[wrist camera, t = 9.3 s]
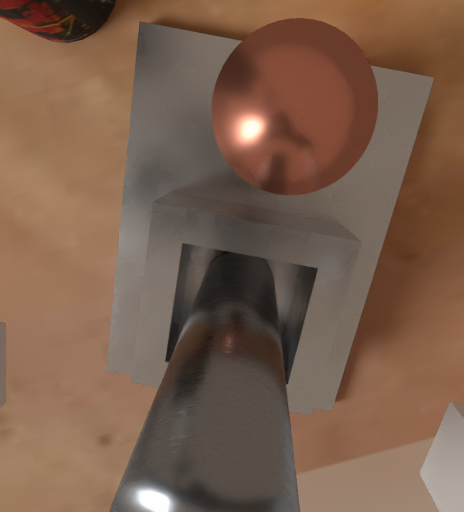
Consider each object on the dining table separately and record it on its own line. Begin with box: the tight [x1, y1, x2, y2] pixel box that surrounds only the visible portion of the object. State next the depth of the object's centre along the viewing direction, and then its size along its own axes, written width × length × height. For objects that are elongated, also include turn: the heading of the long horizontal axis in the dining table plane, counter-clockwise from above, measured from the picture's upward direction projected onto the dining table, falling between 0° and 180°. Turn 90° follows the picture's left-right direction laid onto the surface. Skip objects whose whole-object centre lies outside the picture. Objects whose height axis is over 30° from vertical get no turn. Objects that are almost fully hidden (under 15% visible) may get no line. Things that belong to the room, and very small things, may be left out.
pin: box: [110, 252, 300, 512], centre depth 15 cm, size 4×4×14 cm
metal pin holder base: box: [106, 18, 434, 416], centre depth 16 cm, size 19×14×11 cm
